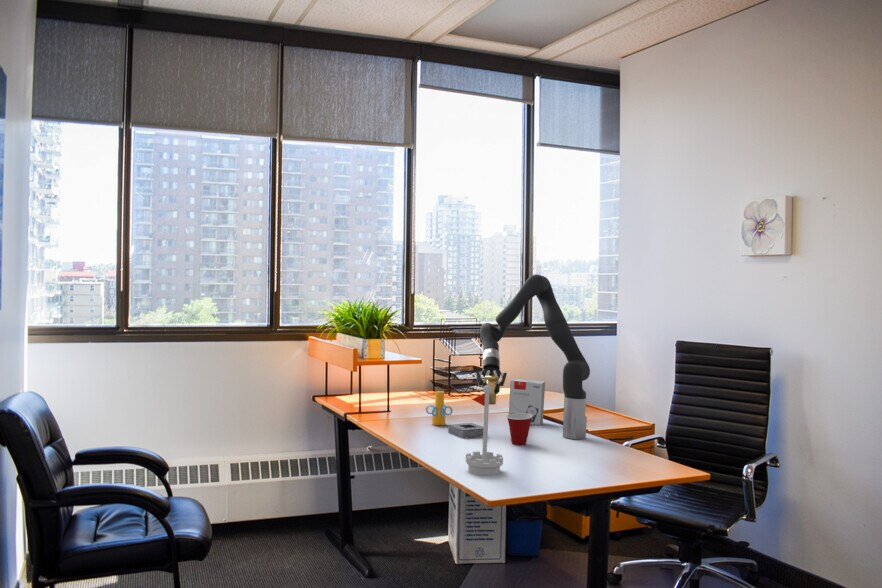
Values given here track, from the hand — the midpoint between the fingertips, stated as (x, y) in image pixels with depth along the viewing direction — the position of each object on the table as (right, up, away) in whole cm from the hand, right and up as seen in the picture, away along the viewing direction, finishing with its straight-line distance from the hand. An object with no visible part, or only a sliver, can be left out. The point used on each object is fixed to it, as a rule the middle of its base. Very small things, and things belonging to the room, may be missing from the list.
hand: (491, 392), depth 317 cm
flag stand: (-7, -20, -61) cm, 64 cm away
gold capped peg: (0, -5, +2) cm, 6 cm away
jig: (-10, -18, -1) cm, 21 cm away
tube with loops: (-23, -17, +18) cm, 34 cm away
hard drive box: (+18, -19, +31) cm, 40 cm away
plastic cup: (+10, -19, -16) cm, 27 cm away
